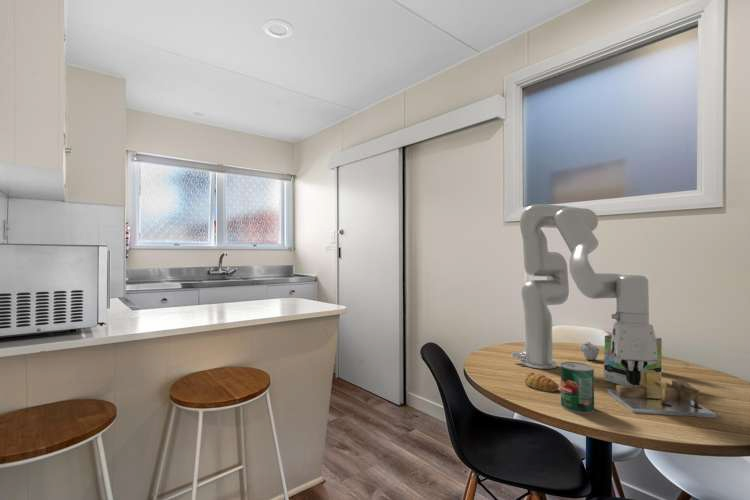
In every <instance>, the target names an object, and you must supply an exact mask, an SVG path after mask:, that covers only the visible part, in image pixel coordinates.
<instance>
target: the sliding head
mask: <svg viewBox="0 0 750 500" xmlns="http://www.w3.org/2000/svg"><path fill="white" fill-rule="evenodd" d="M639 386H641V387H644V388H646V397H647V398H660V399H661V403H662V404H665V388H668V387H667V386H668V385H667V384H666V383H665V382H664V381H662V373H661V374H660V373H658V372H656V371H654V370H642V371H641V381H640V385H639Z"/></svg>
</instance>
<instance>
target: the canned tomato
mask: <svg viewBox="0 0 750 500" xmlns="http://www.w3.org/2000/svg"><path fill="white" fill-rule="evenodd" d="M559 366H560V406H561V407H562V408H563V409H565V410H567V411H569V412H571V413H577V414H587V415H588V414H592V413H595V368H594V366H591V365H590V364H586V363H582V362H576V361H575V362H574V361H562V362H561V363H560V364H559Z"/></svg>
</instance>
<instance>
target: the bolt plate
mask: <svg viewBox="0 0 750 500" xmlns="http://www.w3.org/2000/svg"><path fill="white" fill-rule="evenodd" d="M607 394H608V395H609V396H611V397H612V398H614V400H616V401H617V402H619V403H620V404H621V405H623V407H625V408H627V410H629V412H630V411H631V412H632V413H635V414H636V413H637V414H638V413H639V414H650V415H666V416H667V415H668V416H680V417H681V416H683V417H695V418H696V417H697V418H711V419H713V418H714V419H717V418H718V415H717V413H716V412H714V411H712V410H710V409H709V408H707V407H705V406H703V405H701V404H699V403H698V407H694V400H692V399H691V401H680V400H677V399H665V404H662V403H661V399H660V398H643V397H626V396H619V395H618V394H616V389H615V390H614V389H607Z"/></svg>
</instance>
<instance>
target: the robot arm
mask: <svg viewBox="0 0 750 500" xmlns="http://www.w3.org/2000/svg"><path fill="white" fill-rule="evenodd" d="M598 224H599V219H598V216H597V214H596V213H595V211H594V210H592V209H590V208H583V207H582V208H581V207H574V206H568V205H561V204H560V205H559V204H557V205H556V204H546V203H545V204H544V203H542V204H541V203H540V204H539V203H536V204H532V205H529V206H527V207H526V208H525V209H524V210H523V212H522V213H521V216H520V219H519V229H520V233H521V236H522V237H521V238H522V244H523V245H522V247H523V248H522V251H523V265H524V270H525V271H524V272H526V274H527V275H529V276H530V277H546V279H536V280H535V279H533V280H529V281H526V282H525V283H524V284H523V285H522V288H521V291H520V294H521V298H522V305H523V311H524V349H522V351H520V352H516V351H514V352H513V351H512V352H511V358H516V359H519V360H520V364H521V365H523V366H525V367H529V368H533V369H540V370H552V369H555V368H557V367H558V363H557V361H555V360H553V317H552V313H551V312H550V309H549V307H548V306H558V305H562V304H564V303H566V301H567V300H568V298H569V294H570V291H569V290H570V285H569V273H570V276H571V278H572V280H573V281H574V283H575V285H576V287H577V289H578V290H579V291H580V292H581V294H582V295H583V296H585V297H586V298H589V299H593V300H595V299H596V300H597V299H600V300H601V299H616V311H615V313H612V314H611V319H612V320H615V322H614V323H613V327H612V331H611V335H612V339H611V353H612V361H614V362H616V363H620V364H622V365H623V366H624V367H625V368H626V379H627V381H628V383H630V384H631V385H637V386H639V385H640V381H641V371H642V370H643V368H644V367H645V366H646V365H651V364H655V360H656V359H657V344H656V337H657V336H656V333H655V330H654V325H653V324H650V316H649V315H650V314H649V313H650V311H649V309H650V308H649V307H650V306H649V305H650V304H649V294H650V293H649V280H648V278H647V277H646V276H644V275H639V274H638V275H634V274H619V273H606V272H605V273H602V272H600V273H596V272H595V270H594V269H593V267H592V266H591V264H590V261H589V258H588V257H589V254H591V253H592V252H594V251H595V250H596V249H597V248H598V246H599V240H598V238H597V237H596V236H595V234H594V233H593V232H594V231H595V230H596V228H597V227H598ZM542 228H555V229H557V230H558V231H559V234H560V236H561V237H562V239H563V241H564V242H565V244H566V246H567V248H568V250H569V252H570V253H571V254H570V257H569V270H568V263H567V260H566V258H565V257H564V255H563V254H561V253H559V252H557V251H556V252H555V251H549V249H548V240H547V237H546V234H545V233H544V232H543V230H542ZM568 271H569V272H568ZM632 361H634V363H632Z"/></svg>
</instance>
